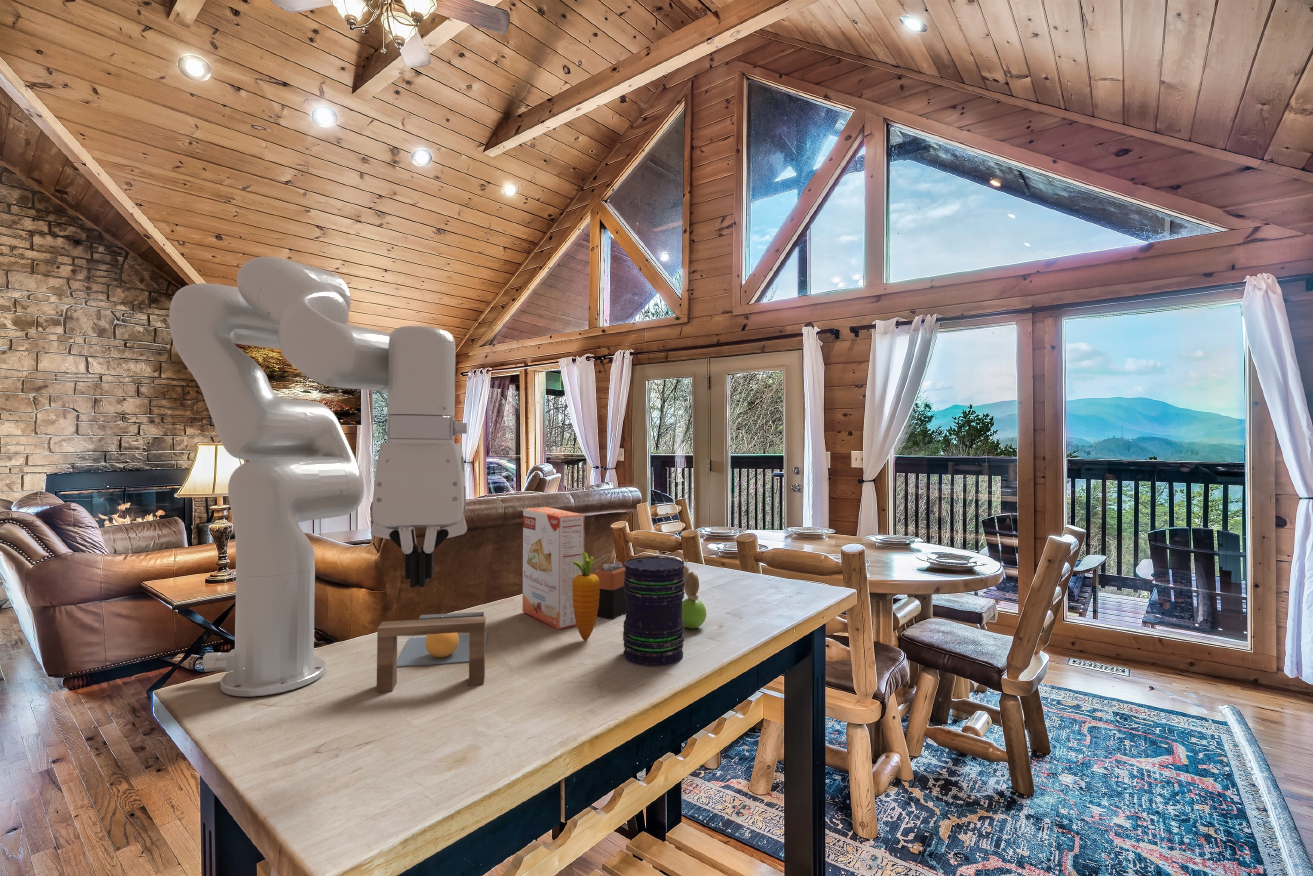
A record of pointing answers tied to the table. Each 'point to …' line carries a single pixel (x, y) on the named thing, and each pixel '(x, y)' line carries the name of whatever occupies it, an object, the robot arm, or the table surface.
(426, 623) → the bridge
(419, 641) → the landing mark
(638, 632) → the dark blue cylinder
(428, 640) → the ball
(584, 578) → the carrot
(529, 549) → the cracker box
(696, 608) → the snail figurine
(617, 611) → the battery
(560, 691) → the table surface
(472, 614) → the wall
